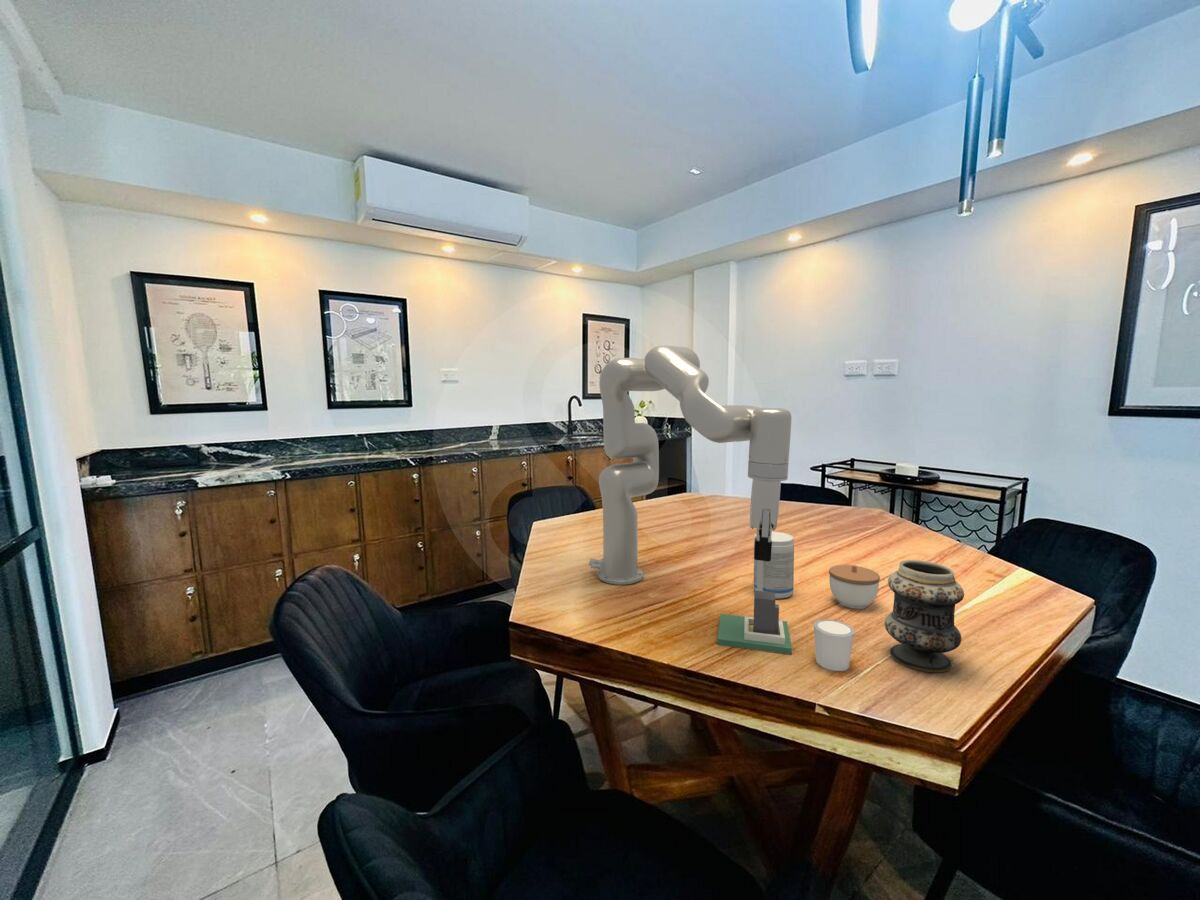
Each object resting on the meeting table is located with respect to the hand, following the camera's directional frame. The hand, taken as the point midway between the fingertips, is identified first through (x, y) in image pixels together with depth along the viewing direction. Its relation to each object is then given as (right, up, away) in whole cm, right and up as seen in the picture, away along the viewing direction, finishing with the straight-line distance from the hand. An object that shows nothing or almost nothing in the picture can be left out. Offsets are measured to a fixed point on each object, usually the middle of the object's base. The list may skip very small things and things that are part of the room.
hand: (762, 559), depth 99 cm
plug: (+1, -15, +1) cm, 15 cm away
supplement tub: (+11, -14, +25) cm, 31 cm away
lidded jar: (+28, -15, +18) cm, 36 cm away
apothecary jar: (+27, -18, -7) cm, 33 cm away
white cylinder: (+10, -18, -8) cm, 22 cm away
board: (-1, -17, +3) cm, 17 cm away
